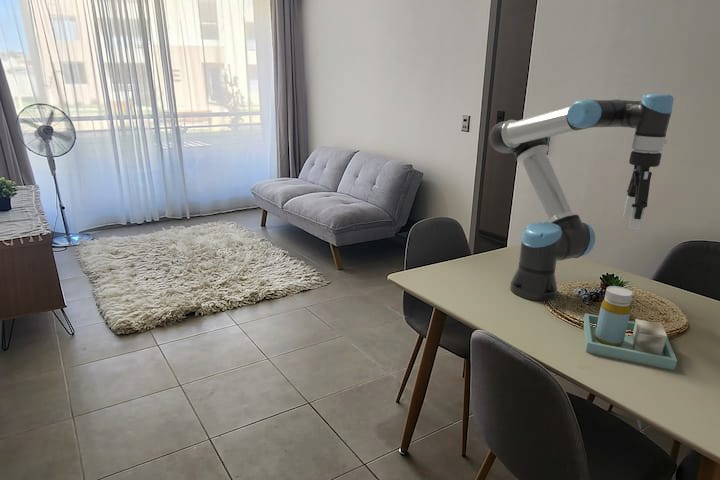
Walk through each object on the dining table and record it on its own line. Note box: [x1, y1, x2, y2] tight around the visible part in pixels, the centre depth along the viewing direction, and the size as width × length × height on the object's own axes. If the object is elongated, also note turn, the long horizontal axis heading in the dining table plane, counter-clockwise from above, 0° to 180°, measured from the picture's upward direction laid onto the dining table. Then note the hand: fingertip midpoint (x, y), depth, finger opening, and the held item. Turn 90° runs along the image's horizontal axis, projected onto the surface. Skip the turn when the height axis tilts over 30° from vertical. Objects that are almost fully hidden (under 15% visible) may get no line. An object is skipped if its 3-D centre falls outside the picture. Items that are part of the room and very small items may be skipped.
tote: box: [582, 312, 678, 371], centre depth 125 cm, size 20×18×4 cm
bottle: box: [595, 285, 634, 346], centre depth 125 cm, size 7×7×15 cm
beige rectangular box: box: [631, 318, 668, 356], centre depth 123 cm, size 6×7×6 cm
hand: (630, 223), depth 137 cm, fingers open, 13 cm apart
